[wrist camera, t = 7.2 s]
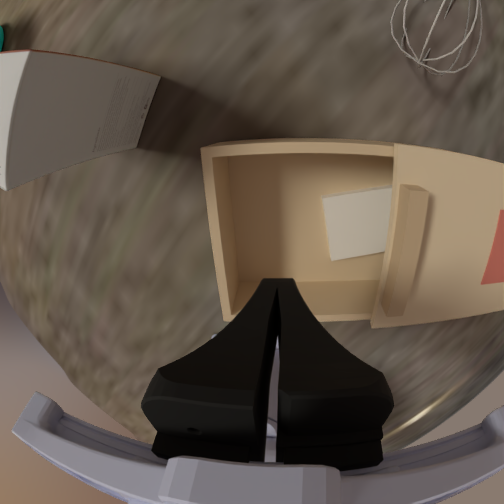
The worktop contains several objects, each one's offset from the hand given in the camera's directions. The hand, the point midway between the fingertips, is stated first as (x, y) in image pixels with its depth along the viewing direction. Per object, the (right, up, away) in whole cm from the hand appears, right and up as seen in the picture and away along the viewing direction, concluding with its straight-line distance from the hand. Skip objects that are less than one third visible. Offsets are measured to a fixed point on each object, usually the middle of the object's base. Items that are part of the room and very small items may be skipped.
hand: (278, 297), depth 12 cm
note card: (+8, +4, +8) cm, 12 cm away
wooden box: (+6, +5, +8) cm, 11 cm away
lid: (+16, +2, +2) cm, 17 cm away
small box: (-13, +14, +6) cm, 20 cm away
